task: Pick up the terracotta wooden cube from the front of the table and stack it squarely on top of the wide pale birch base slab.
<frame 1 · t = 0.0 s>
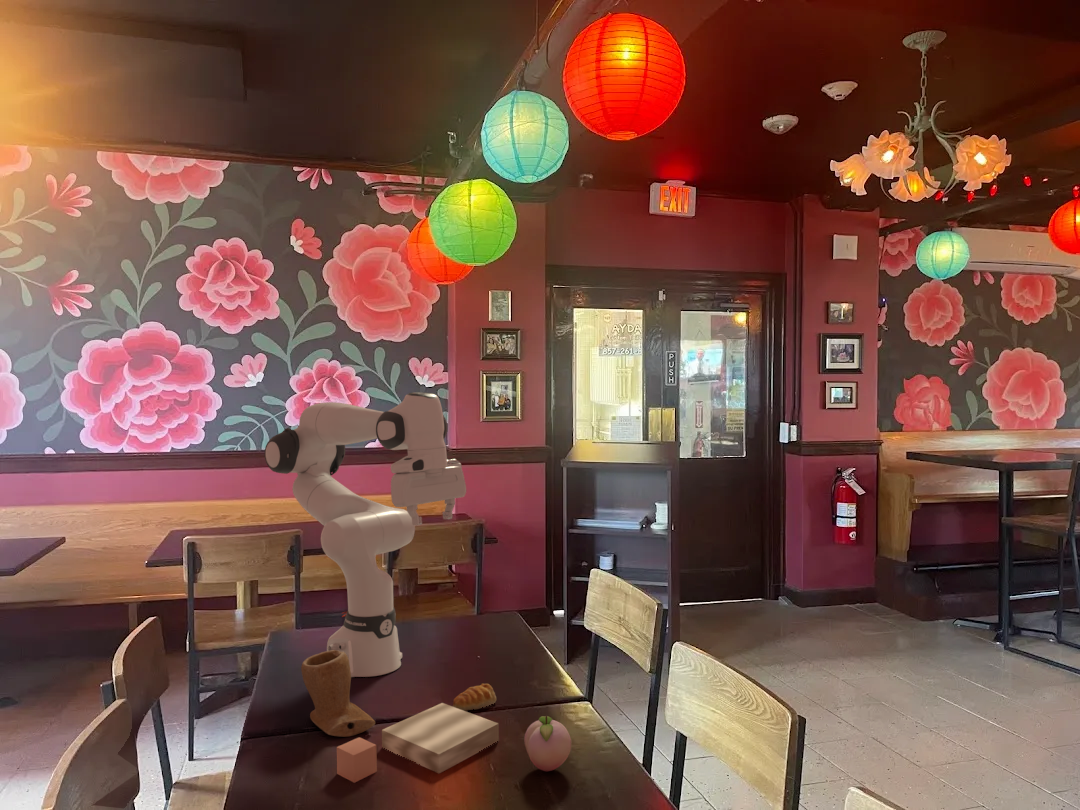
hand: (432, 522, 176), 39 cm above the table, tool pointing down, fingers open, 8 cm apart
decorative fruit: (548, 771, 140), on the table
terracotta block: (357, 773, 140), on the table
birch base: (440, 746, 150), on the table
pastry: (476, 705, 169), on the table
cork boot vase: (335, 727, 159), on the table
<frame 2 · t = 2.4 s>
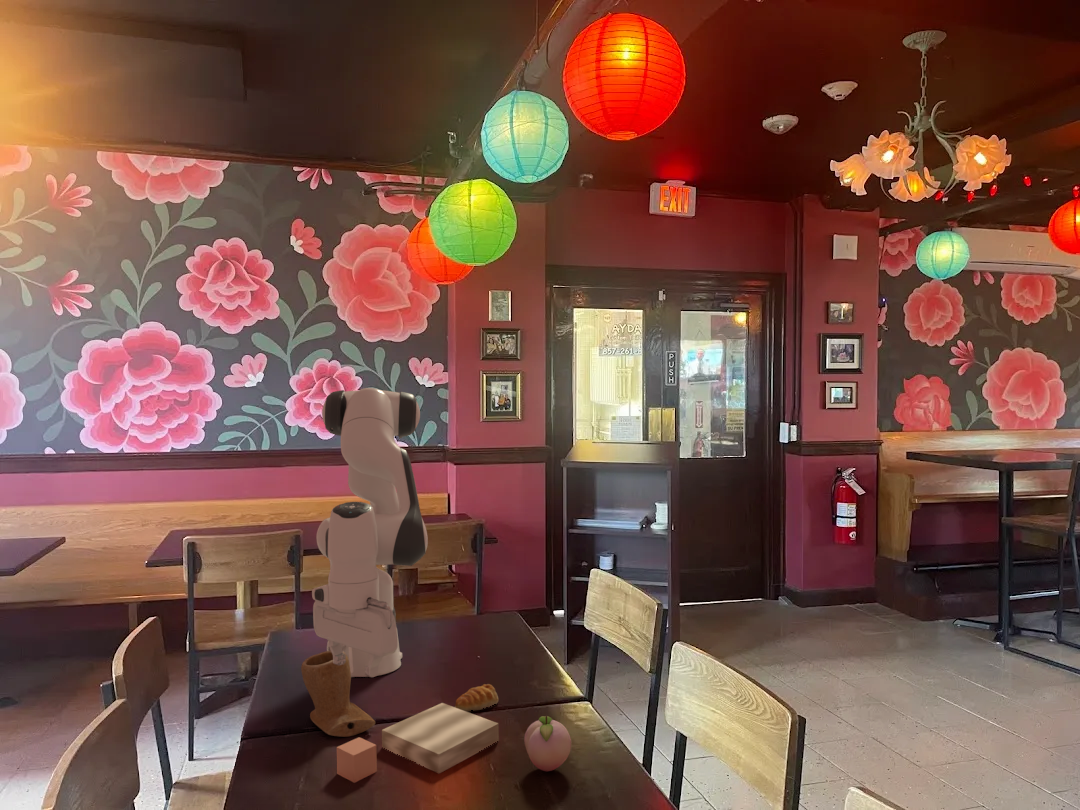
hand: (355, 669, 139), 19 cm above the table, tool pointing down, fingers open, 8 cm apart
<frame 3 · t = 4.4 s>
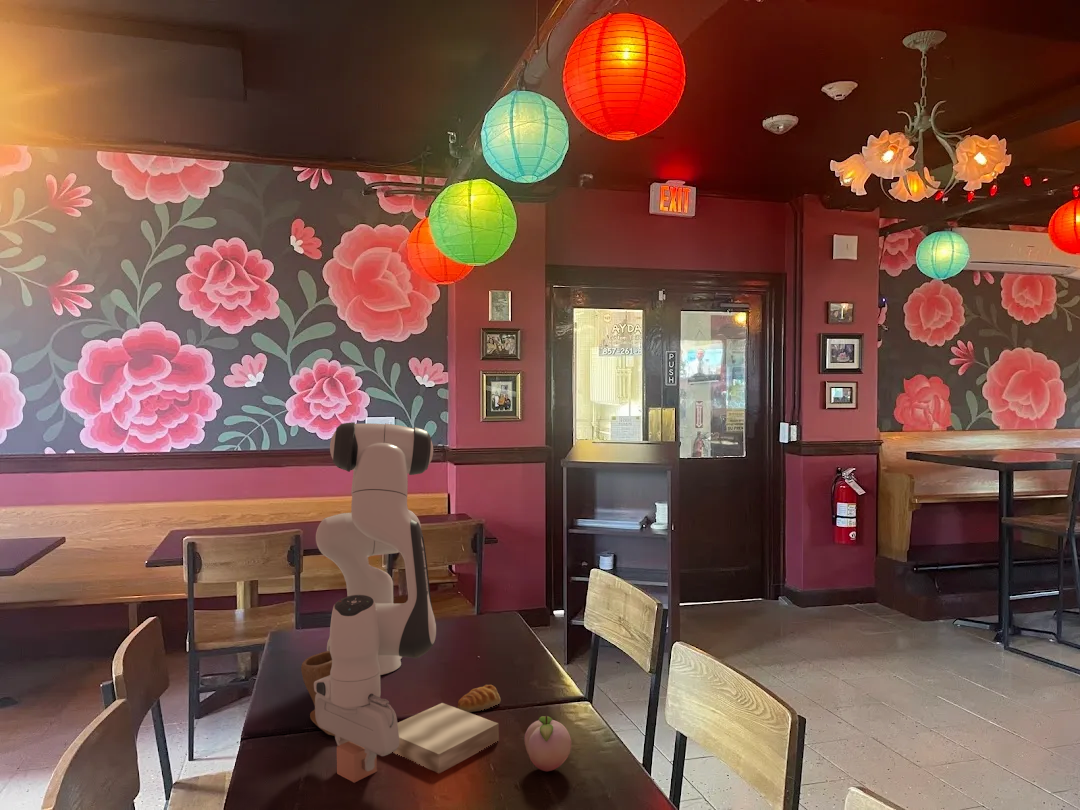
hand: (356, 763, 140), 2 cm above the table, tool pointing down, fingers closed on terracotta block, 5 cm apart
terracotta block: (357, 772, 140), on the table, touching gripper
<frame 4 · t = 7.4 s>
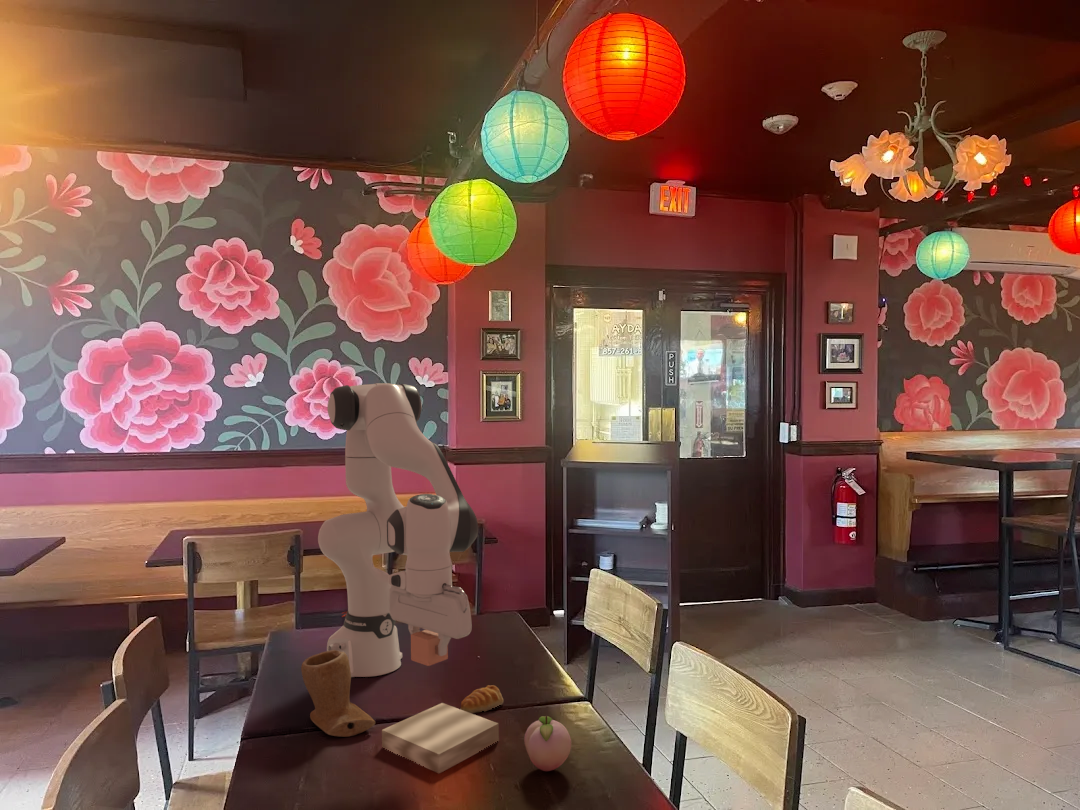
hand: (429, 650, 149), 19 cm above the table, tool pointing down, fingers closed on terracotta block, 5 cm apart
terracotta block: (429, 659, 149), point 17 cm above the table, touching gripper
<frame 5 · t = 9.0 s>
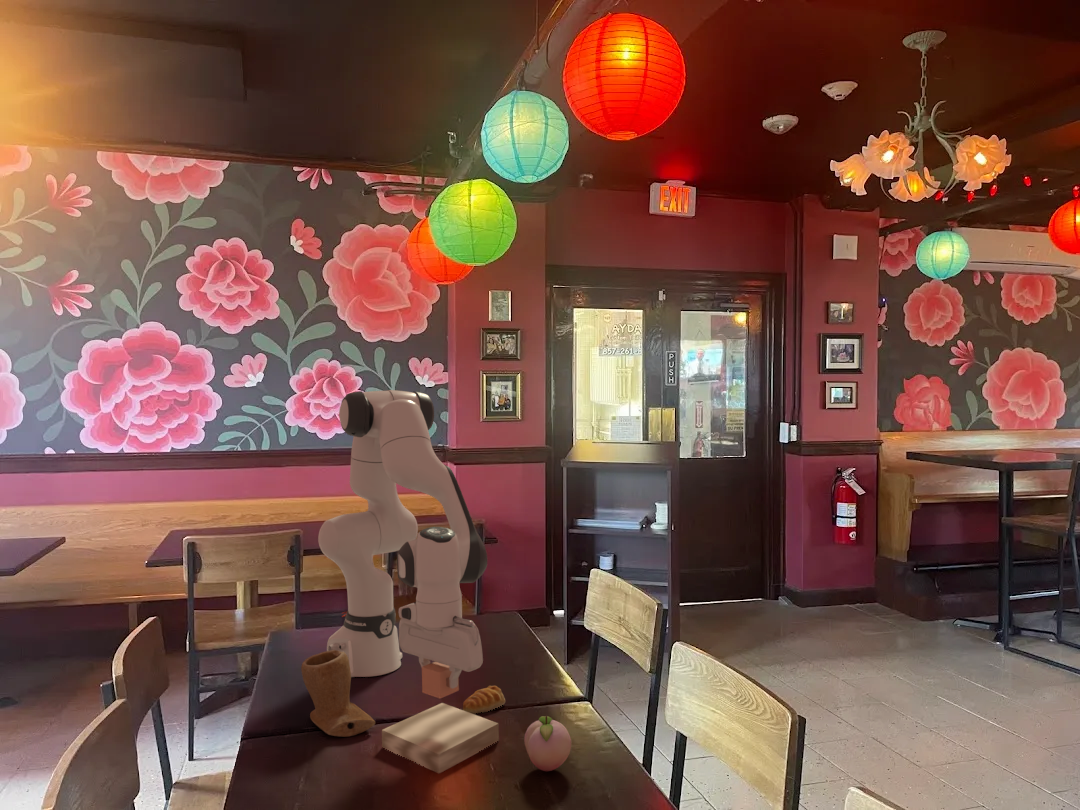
hand: (440, 683, 150), 12 cm above the table, tool pointing down, fingers closed on terracotta block, 5 cm apart
terracotta block: (440, 691, 150), point 10 cm above the table, touching gripper
when the fingers open (7 cm above the table, at t = 10.3 s): terracotta block drops 2 cm, resting on birch base.
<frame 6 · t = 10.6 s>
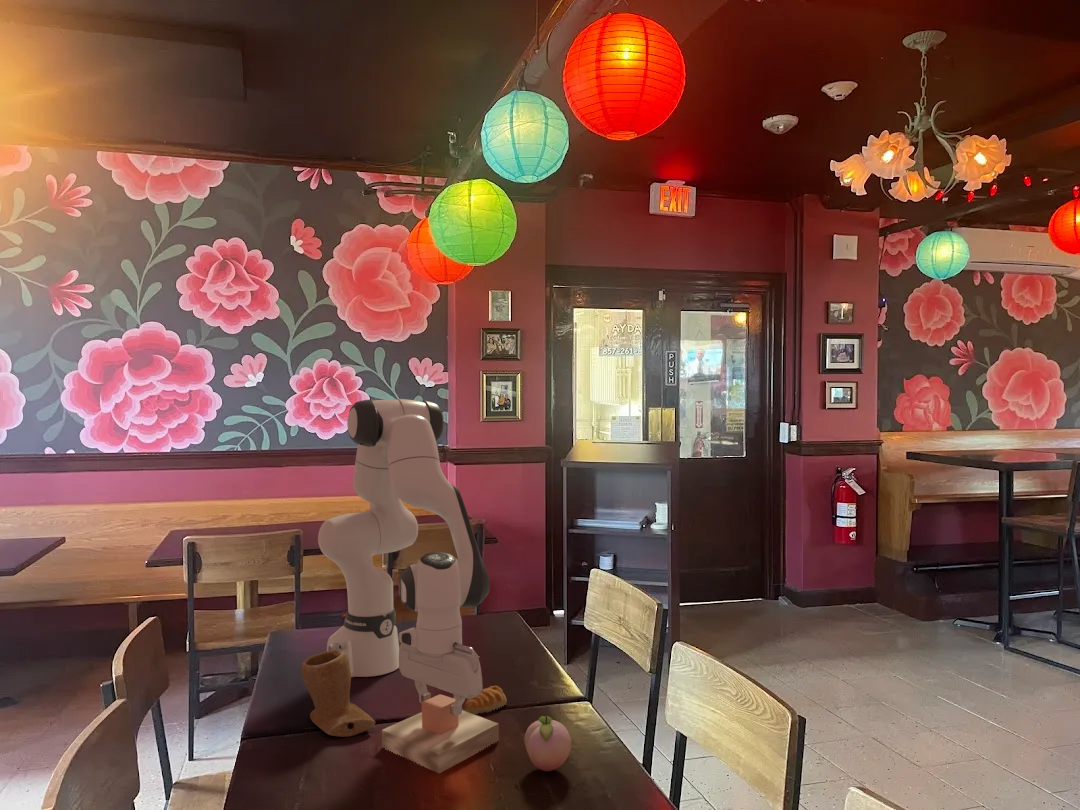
hand: (440, 708, 150), 7 cm above the table, tool pointing down, fingers open, 7 cm apart
terracotta block: (440, 726, 150), point 3 cm above the table, touching birch base
birch base: (440, 746, 150), on the table, touching terracotta block
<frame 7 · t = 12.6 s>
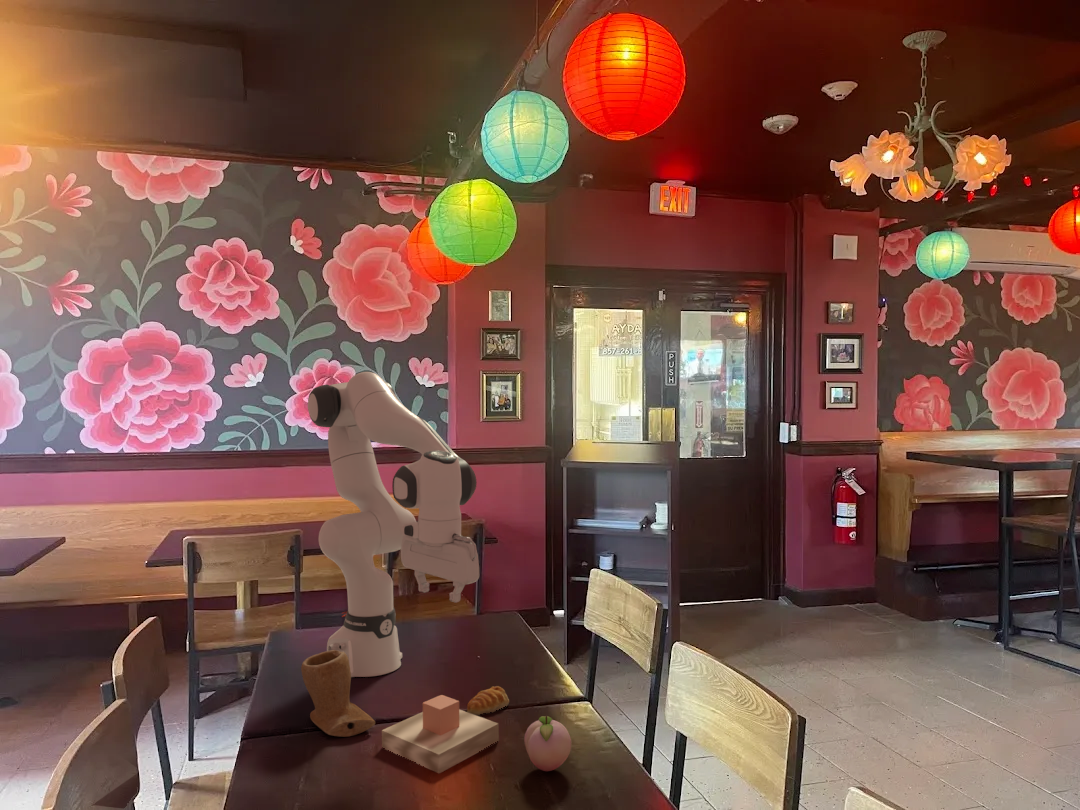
hand: (439, 596, 159), 26 cm above the table, tool pointing down, fingers open, 8 cm apart
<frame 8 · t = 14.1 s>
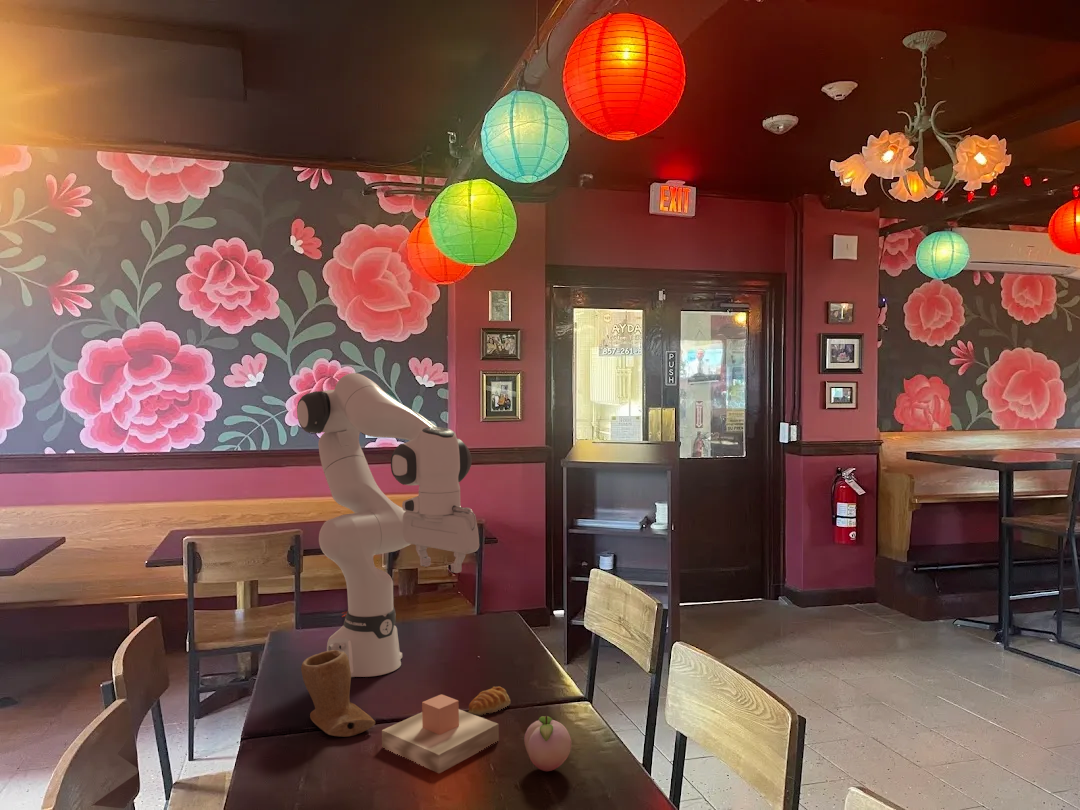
hand: (440, 568, 163), 31 cm above the table, tool pointing down, fingers open, 8 cm apart
at the end: terracotta block inside the target area on the birch base (0.1 cm from its centre), point 4.0 cm above the birch base's base; terracotta block tilted 1°; the gripper is holding nothing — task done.
